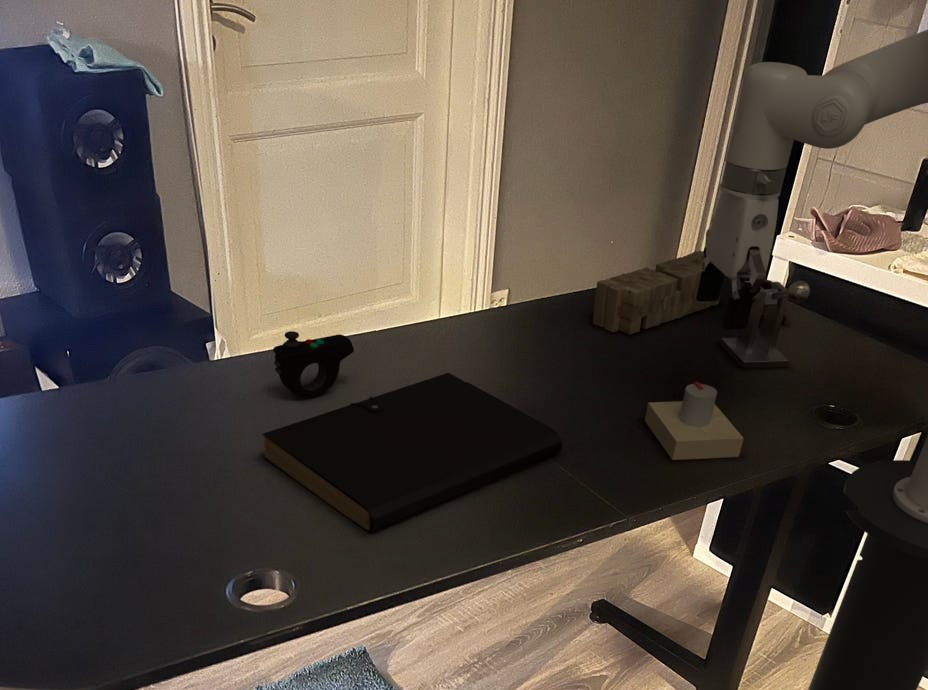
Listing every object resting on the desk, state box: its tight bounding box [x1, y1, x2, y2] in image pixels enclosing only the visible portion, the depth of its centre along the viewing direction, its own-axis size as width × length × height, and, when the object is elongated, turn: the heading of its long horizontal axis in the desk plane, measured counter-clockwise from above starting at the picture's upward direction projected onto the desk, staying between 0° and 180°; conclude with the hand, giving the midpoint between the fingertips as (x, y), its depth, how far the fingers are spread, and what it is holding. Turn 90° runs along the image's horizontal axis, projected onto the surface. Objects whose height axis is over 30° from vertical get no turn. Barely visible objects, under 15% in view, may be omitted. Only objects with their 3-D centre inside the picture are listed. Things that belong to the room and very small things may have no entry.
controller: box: [272, 330, 355, 399], centre depth 144 cm, size 4×12×10 cm, turn 124°
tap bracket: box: [719, 281, 789, 369], centre depth 162 cm, size 10×8×12 cm
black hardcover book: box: [262, 372, 563, 532], centre depth 132 cm, size 33×4×24 cm
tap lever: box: [764, 280, 811, 306], centre depth 155 cm, size 13×3×3 cm, turn 10°
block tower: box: [592, 250, 723, 336], centre depth 177 cm, size 8×8×29 cm
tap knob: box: [680, 381, 718, 426], centre depth 138 cm, size 4×4×5 cm
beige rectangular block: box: [644, 400, 745, 461], centre depth 140 cm, size 12×10×3 cm
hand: (720, 313), depth 131 cm, fingers open, 9 cm apart
